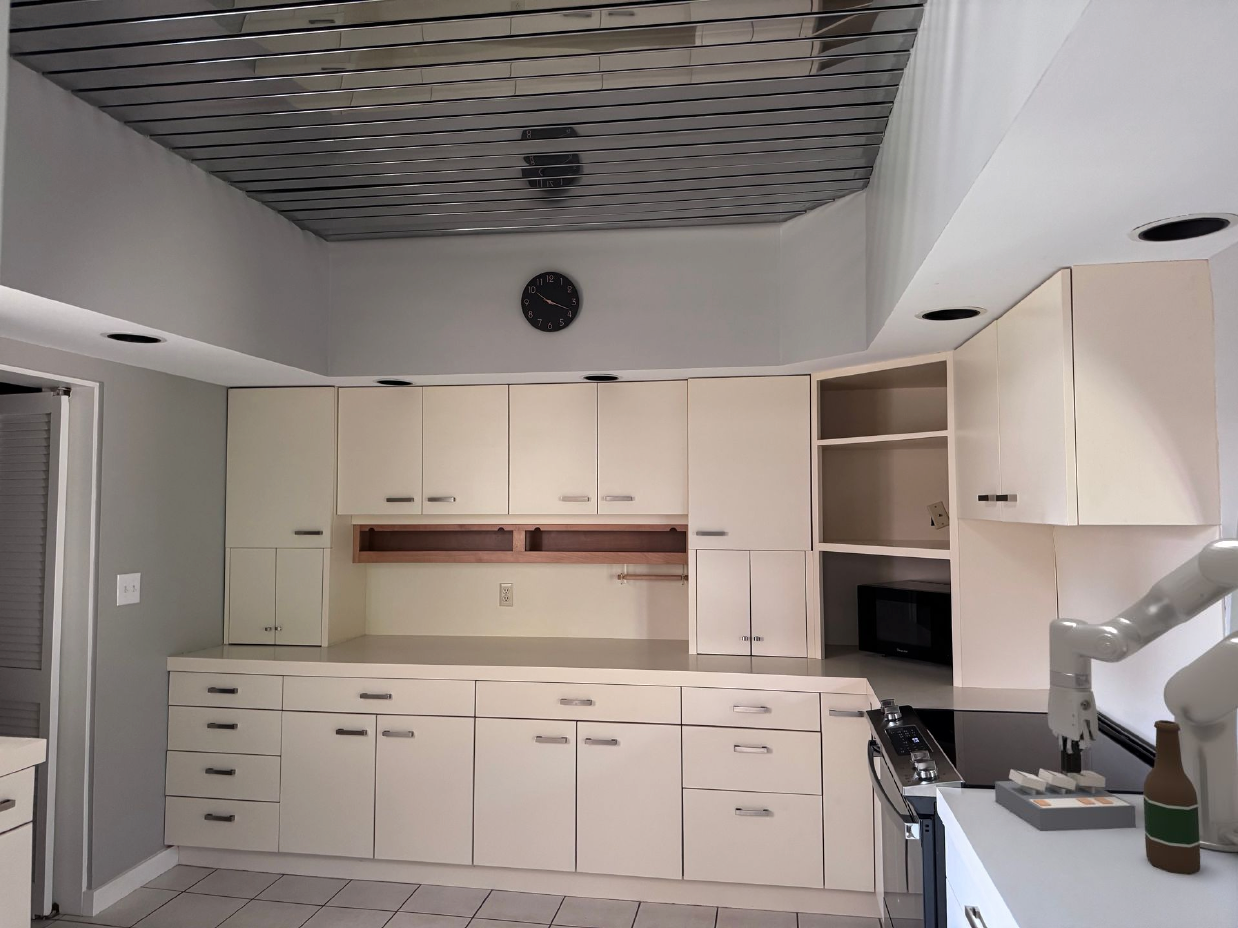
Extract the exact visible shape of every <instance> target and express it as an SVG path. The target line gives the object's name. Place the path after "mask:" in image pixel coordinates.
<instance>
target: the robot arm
mask: <svg viewBox="0 0 1238 928" xmlns="http://www.w3.org/2000/svg"><path fill="white" fill-rule="evenodd" d="M1237 590H1238V538H1236V537H1223V538H1219V539H1215V540H1212V541H1210V542H1209V543H1207V544H1206V545H1204V547H1203V548H1202V549H1201V550H1200V551H1199V552H1198V553H1197V554H1195V555H1194V556H1192V557H1191V558H1190V559H1188V560H1187V561H1185V562H1184V563H1182V564H1180V565H1179V566H1178V567H1176V568H1175V569H1174V570H1172V571H1171V572H1169V573H1167V574H1166V575H1165V576H1163V577H1161V578H1160V579H1159V580H1157V581H1156V582H1155V583H1154V584H1153V585H1152V586H1151V587H1150V589H1149V590H1148V591H1147V593H1146V594H1145V595H1144V596H1142V597H1141V598H1140V599H1139V600H1138V601H1136V602H1135V603H1134V604H1131V606H1129V607H1128V608H1126V609H1125V610H1123V611H1122V612H1121V613H1119V614H1117V615H1116V616H1115V617H1112V618H1111V619H1110V620H1108V621H1105V622H1102V623H1098V624H1094V623H1092V624H1091V623H1088V622H1087V621H1085V620H1081V619H1077V618H1065V617H1064V618H1063V617H1062V618H1054V619H1052V620H1051V621H1050V622H1049V626H1048V627H1049V628H1048V630H1049V632H1048V636H1049V639H1048V641H1049V642H1048V643H1049V648H1048V649H1049V691H1048V698H1047V699H1048V701H1047V722H1048V723H1047V724H1048V728H1049V729H1050V730H1052V731H1051V732H1052V735H1053V736H1054V737H1056V738H1057V741H1058V748H1059V749H1060V755H1061V756H1060V760H1061V761H1060V765H1061V766H1060V768H1061V769H1060V770H1062V771H1064V772H1065V773H1067V774H1068V773H1081V770H1082V754H1083V753H1084V750H1090V749H1092V746H1091V741H1092V742H1095V741H1096V742H1097V740H1098V738H1099V724H1098V712H1097V705H1096V704H1097V703H1096V698H1095V695H1094V691H1093V687H1092V676H1093V675H1092V660H1096V661H1100V662H1104V663H1110V664H1111V663H1112V664H1113V663H1114V664H1115V663H1119V662H1122V661H1123V660H1126V659H1128V657H1131V656H1133V655H1134V654H1135V653H1137V652H1139V651H1140V650H1142V649H1143V648H1144V647H1146V646H1148V645H1149V644H1150V643H1152V642H1154V641H1155V640H1157V639H1158V638H1160V637H1162V636H1163V635H1165V634H1167V633H1168V632H1169V631H1171V630H1172V629H1174V628H1176V627H1178V626H1179V625H1181V624H1184V623H1187V622H1189V621H1191V620H1192V619H1193V618H1195V617H1196V616H1199V615H1200V614H1201V613H1203V612H1204V611H1205V610H1208V608H1211V606H1213V605H1215V604H1217V603H1218V602H1220V600H1222V599H1224V598H1226V597H1227V596H1229V595H1231V594H1232V593H1233V592H1235V591H1237ZM1163 701H1164V704H1165V706H1166V708H1167V710H1168V711H1169V713H1170V714H1171V715H1172V716H1173V722H1175V723H1177V724H1178V725H1179V727H1180V731H1178V734H1179V743H1180V751H1181V760H1182V765H1183V769H1184V773H1185V774H1186V775H1187V777H1188V778H1189V779H1190V781H1191V782H1192V784H1193V786H1194V789H1195V791H1196V794H1197V801H1198V817H1199V839H1200V848H1202V849H1208V850H1212V851H1218V852H1219V851H1221V852H1234V853H1237V852H1238V629H1237V630H1235V631H1232V632H1231V633H1229V634H1228V635H1226V636H1225V637H1223V639H1221V640H1220V641H1218V642H1217V643H1216V644H1215V645H1213V646H1212V647H1211V648H1209V649H1208V650H1207V651H1205V652H1204V653H1203V654H1201V655H1200V656H1198V657H1197V658H1196V659H1194V660H1193V661H1192V662H1190V663H1189V664H1188V665H1185V666H1184V667H1182V668H1181V669H1179V670H1178V671H1177V672H1175V673H1174V674H1173V675H1172V676H1171V677H1170V678H1169V679H1168V680H1167V682H1166V684H1165V685H1164V687H1163Z"/></svg>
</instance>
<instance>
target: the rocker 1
mask: <svg viewBox="0 0 1238 928" xmlns="http://www.w3.org/2000/svg"><path fill="white" fill-rule="evenodd" d="M1008 778H1009V779H1010V780H1011V781H1015V782H1017V783H1018V784H1020V785H1023V786H1027V787H1031V788H1035V789H1039V790H1043V791H1045V786H1046V781H1044V780H1042V779H1041V778H1039V777H1038V776H1036V775H1035V774H1030V773H1028V772H1024V771H1020V770H1017V769H1010V771H1009V775H1008Z"/></svg>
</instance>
